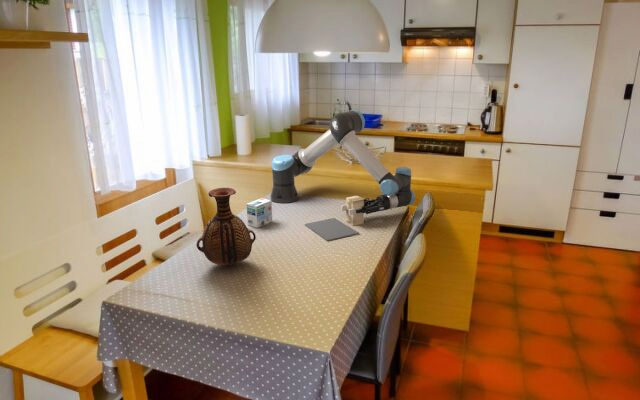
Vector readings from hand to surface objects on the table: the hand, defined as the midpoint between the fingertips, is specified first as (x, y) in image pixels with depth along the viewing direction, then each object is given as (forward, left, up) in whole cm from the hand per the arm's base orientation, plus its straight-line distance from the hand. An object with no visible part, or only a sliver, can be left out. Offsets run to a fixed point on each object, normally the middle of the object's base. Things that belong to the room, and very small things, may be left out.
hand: (345, 210), depth 217 cm
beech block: (0, +5, -7) cm, 9 cm away
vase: (+14, -61, -7) cm, 63 cm away
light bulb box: (-22, -34, -7) cm, 41 cm away
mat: (+2, -9, -7) cm, 11 cm away
